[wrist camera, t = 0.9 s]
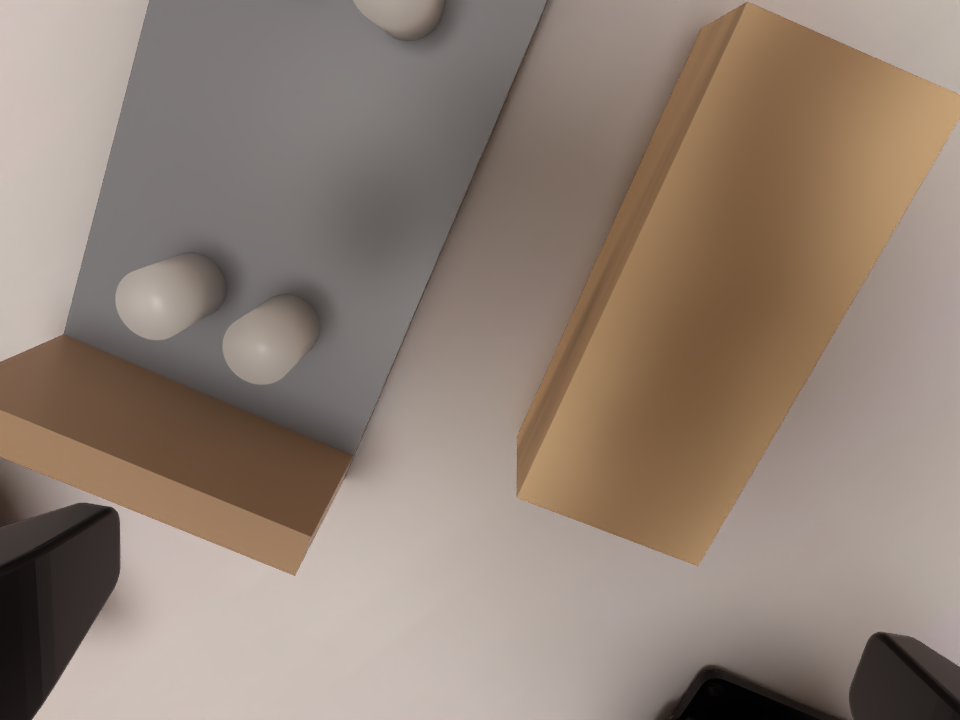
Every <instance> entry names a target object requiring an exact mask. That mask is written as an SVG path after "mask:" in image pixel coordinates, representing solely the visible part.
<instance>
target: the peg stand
mask: <svg viewBox="0 0 960 720" xmlns="http://www.w3.org/2000/svg"><path fill="white" fill-rule="evenodd" d="M547 1H548V0H149V4H148V8H147V12H146V16H145V19H144V23H143V27H142V31H141V35H140V39H139V43H138V47H137V51H136V54H135V58H134V62H133V66H132V70H131V74H130V78H129V82H128V86H127V90H126V93H125V97H124V101H123V105H122V109H121V113H120V117H119V121H118V125H117V128H116V132H115V136H114V140H113V144H112V148H111V152H110V156H109V160H108V163H107V167H106V171H105V175H104V179H103V183H102V187H101V191H100V195H99V199H98V202H97V206H96V210H95V214H94V218H93V222H92V226H91V230H90V234H89V237H88V241H87V245H86V249H85V253H84V257H83V261H82V265H81V269H80V273H79V276H78V280H77V284H76V288H75V292H74V296H73V300H72V304H71V308H70V311H69V315H68V319H67V323H66V327H65V331H64V334H63V335H61V336H59V337H57V338H54V339H52V340H50V341H47V342H45V343H43V344H41V345H38V346H36V347H34V348H31V349H29V350H27V351H25V352H22V353H20V354H18V355H15V356H13V357H11V358H9V359H6V360H4V361H2V362H0V457H2V458H4V459H7V460H9V461H12V462H14V463H17V464H19V465H22V466H24V467H27V468H29V469H31V470H34V471H36V472H39V473H41V474H44V475H46V476H49V477H51V478H54V479H56V480H59V481H61V482H64V483H66V484H69V485H71V486H74V487H76V488H79V489H81V490H84V491H86V492H88V493H91V494H93V495H96V496H98V497H101V498H103V499H106V500H108V501H111V502H113V503H116V504H118V505H121V506H123V507H126V508H128V509H131V510H133V511H136V512H138V513H141V514H143V515H145V516H148V517H150V518H153V519H155V520H158V521H160V522H163V523H165V524H168V525H170V526H173V527H175V528H178V529H180V530H183V531H185V532H188V533H190V534H193V535H195V536H198V537H200V538H203V539H205V540H207V541H210V542H212V543H215V544H217V545H220V546H222V547H225V548H227V549H230V550H232V551H235V552H237V553H240V554H242V555H245V556H247V557H250V558H252V559H255V560H257V561H260V562H262V563H264V564H267V565H269V566H272V567H274V568H277V569H279V570H282V571H284V572H287V573H289V574H292V575H294V576H295V575H296V573H297V571H298V569H299V567H300V565H301V563H302V561H303V559H304V557H305V555H306V553H307V551H308V549H309V547H310V545H311V543H312V541H313V539H314V537H315V535H316V533H317V531H318V530H319V528H320V526H321V524H322V522H323V520H324V518H325V516H326V514H327V512H328V510H329V508H330V506H331V504H332V502H333V500H334V498H335V496H336V494H337V492H338V490H339V488H340V486H341V484H342V482H343V480H344V478H345V476H346V474H347V471H348V469H349V467H350V464H351V462H352V460H353V457H354V455H355V452H356V450H357V448H358V445H359V443H360V441H361V438H362V436H363V434H364V431H365V429H366V427H367V424H368V422H369V420H370V417H371V415H372V413H373V410H374V408H375V406H376V403H377V401H378V398H379V396H380V394H381V391H382V389H383V387H384V384H385V382H386V380H387V377H388V375H389V373H390V370H391V368H392V366H393V363H394V361H395V359H396V356H397V354H398V351H399V349H400V347H401V344H402V342H403V340H404V337H405V335H406V333H407V330H408V328H409V326H410V323H411V321H412V319H413V316H414V314H415V312H416V309H417V307H418V304H419V302H420V300H421V297H422V295H423V293H424V290H425V288H426V286H427V283H428V281H429V279H430V276H431V274H432V272H433V269H434V267H435V265H436V262H437V260H438V257H439V255H440V253H441V250H442V248H443V246H444V243H445V241H446V239H447V236H448V234H449V232H450V229H451V227H452V225H453V222H454V220H455V218H456V215H457V213H458V210H459V208H460V206H461V203H462V201H463V199H464V196H465V194H466V192H467V189H468V187H469V185H470V182H471V180H472V178H473V175H474V173H475V171H476V168H477V166H478V163H479V161H480V159H481V156H482V154H483V152H484V149H485V147H486V145H487V142H488V140H489V138H490V135H491V133H492V131H493V128H494V126H495V124H496V121H497V119H498V117H499V114H500V112H501V109H502V107H503V105H504V102H505V100H506V98H507V95H508V93H509V91H510V88H511V86H512V84H513V81H514V79H515V77H516V74H517V72H518V70H519V67H520V65H521V62H522V60H523V58H524V55H525V53H526V51H527V48H528V46H529V44H530V41H531V39H532V37H533V34H534V32H535V30H536V27H537V25H538V23H539V20H540V18H541V15H542V13H543V11H544V8H545V6H546V4H547Z"/></svg>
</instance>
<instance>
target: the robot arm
mask: <svg viewBox="0 0 960 720" xmlns="http://www.w3.org/2000/svg"><path fill="white" fill-rule="evenodd" d="M119 573H120V520H119V515H118V512H117V511H116V510H115V509H114V508H112V507H107V506H101V505H95V504H89V503H77V504H74V505H71V506H67V507H64V508H61V509H58V510H55V511H51V512H48V513H45V514H42V515H38V516H35V517H32V518H29V519H26V520H22V521H19V522H16V523H13V524H9V525H6V526H3V527H0V720H32V719H33V717H34V716H35V715H36V713H37V712H38V711H39V709H40V708H41V706H42V705H43V704H44V702H45V700H46V699H47V697H48V696H49V694H50V693H51V691H52V690H53V688H54V687H55V685H56V683H57V682H58V680H59V679H60V677H61V675H62V674H63V672H64V670H65V669H66V667H67V665H68V664H69V662H70V660H71V659H72V657H73V655H74V654H75V652H76V651H77V649H78V647H79V646H80V644H81V642H82V641H83V639H84V637H85V636H86V634H87V632H88V631H89V629H90V627H91V626H92V624H93V623H94V621H95V619H96V618H97V616H98V614H99V613H100V611H101V609H102V608H103V606H104V604H105V603H106V601H107V600H108V598H109V596H110V595H111V593H112V591H113V589H114V588H115V585H116V583H117V581H118V577H119ZM714 684H718V686H717V687H713V688H711V687H710V686H711V685H714ZM849 703H850V709H851V713H852V716H853V719H854V720H960V667H959V666H957V665H956V664H954V663H953V662H951V661H950V660H948V659H946V658H945V657H943V656H942V655H940V654H939V653H937V652H936V651H934V650H932V649H931V648H929V647H928V646H926V645H925V644H923V643H921V642H920V641H918V640H917V639H915V638H912V637H909V636H905V635H898V634H892V633H885V632H877V633H875V634H873V635H872V636H871V637H870V638H869V640H868V642H867V644H866V646H865V649H864V651H863V654H862V657H861V659H860V662H859V665H858V667H857V670H856V673H855V675H854V678H853V680H852V683H851V687H850V692H849ZM667 720H839V719H837V718H834V717H832V716H829V715H827V714H824V713H822V712H820V711H817V710H815V709H812V708H810V707H807V706H805V705H803V704H800V703H798V702H795V701H793V700H791V699H788V698H786V697H783V696H781V695H778V694H776V693H774V692H771V691H769V690H766V689H764V688H761V687H759V686H757V685H754V684H752V683H749V682H747V681H745V680H742V679H740V678H737V677H735V676H732V675H730V674H728V673H725V672H723V671H720V670H716V669H710V670H706V671H704V672H702V673H701V674H700V675H699V676H698V678H697V679H696V681H695V682H694V684H693V685H692V687H691V688H690V689H689V691H688V692H687V694H686V695H685V697H684V698H683V700H682V701H681V703H680V704H679V705H678V707H677V708H676V710H675V711H674V713H673V714H672V716H671V717H670V718H668V719H667Z"/></svg>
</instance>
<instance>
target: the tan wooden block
mask: <svg viewBox="0 0 960 720" xmlns="http://www.w3.org/2000/svg"><path fill="white" fill-rule="evenodd" d="M959 118H960V95H959V94H956V93H954V92H952V91H950V90H947V89H945V88H943V87H941V86H938V85H936V84H934V83H931V82H929V81H927V80H925V79H922V78H920V77H918V76H915V75H913V74H911V73H909V72H906V71H904V70H902V69H899V68H897V67H895V66H893V65H890V64H888V63H886V62H884V61H881V60H879V59H877V58H874V57H872V56H870V55H868V54H865V53H863V52H861V51H858V50H856V49H854V48H852V47H849V46H847V45H845V44H842V43H840V42H838V41H836V40H833V39H831V38H829V37H827V36H824V35H822V34H820V33H817V32H815V31H813V30H811V29H808V28H806V27H804V26H801V25H799V24H797V23H795V22H792V21H790V20H788V19H786V18H783V17H781V16H779V15H776V14H774V13H772V12H770V11H767V10H765V9H763V8H760V7H758V6H756V5H754V4H751V3H749V2H746V3H745V4H743V5H741V6H739V7H738V8H736V9H734V10H733V11H731V12H729V13H727V14H726V15H724V16H722V17H720V18H719V19H717V20H715V21H713V22H712V23H710V24H708V25H707V26H705V27H703V28H701V30H700V32H699V34H698V36H697V38H696V41H695V43H694V45H693V47H692V50H691V52H690V54H689V56H688V58H687V61H686V63H685V65H684V67H683V70H682V72H681V74H680V76H679V78H678V81H677V83H676V85H675V87H674V90H673V92H672V94H671V96H670V98H669V101H668V103H667V105H666V107H665V110H664V112H663V114H662V116H661V118H660V121H659V123H658V125H657V127H656V130H655V132H654V134H653V136H652V138H651V141H650V143H649V145H648V147H647V149H646V152H645V154H644V156H643V158H642V161H641V163H640V165H639V167H638V169H637V172H636V174H635V176H634V178H633V181H632V183H631V185H630V187H629V189H628V192H627V194H626V196H625V198H624V201H623V203H622V205H621V207H620V209H619V212H618V214H617V216H616V218H615V221H614V223H613V225H612V227H611V229H610V232H609V234H608V236H607V238H606V240H605V243H604V245H603V247H602V249H601V252H600V254H599V256H598V258H597V260H596V263H595V265H594V267H593V269H592V272H591V274H590V276H589V278H588V280H587V283H586V285H585V287H584V289H583V292H582V294H581V296H580V298H579V300H578V303H577V305H576V307H575V309H574V312H573V314H572V316H571V318H570V320H569V323H568V325H567V327H566V329H565V332H564V334H563V336H562V338H561V340H560V343H559V345H558V347H557V349H556V351H555V354H554V356H553V358H552V360H551V363H550V365H549V367H548V369H547V371H546V374H545V376H544V378H543V380H542V383H541V385H540V387H539V389H538V391H537V394H536V396H535V398H534V400H533V403H532V405H531V407H530V409H529V411H528V414H527V416H526V418H525V420H524V423H523V425H522V427H521V429H520V431H519V434H518V436H517V498H519V499H522V500H524V501H527V502H530V503H532V504H535V505H538V506H540V507H543V508H546V509H548V510H551V511H553V512H556V513H559V514H561V515H564V516H567V517H569V518H572V519H575V520H577V521H580V522H583V523H585V524H588V525H590V526H593V527H596V528H598V529H601V530H604V531H606V532H609V533H612V534H614V535H617V536H620V537H622V538H625V539H628V540H630V541H633V542H635V543H638V544H641V545H643V546H646V547H649V548H651V549H654V550H657V551H659V552H662V553H665V554H667V555H670V556H672V557H675V558H678V559H680V560H683V561H686V562H688V563H691V564H694V565H696V566H698V565H699V563H700V562H701V560H702V558H703V557H704V555H705V553H706V551H707V550H708V548H709V546H710V545H711V543H712V541H713V540H714V538H715V536H716V534H717V533H718V531H719V529H720V528H721V526H722V524H723V522H724V521H725V519H726V517H727V516H728V514H729V512H730V510H731V509H732V507H733V505H734V504H735V502H736V500H737V498H738V497H739V495H740V493H741V492H742V490H743V488H744V486H745V485H746V483H747V481H748V480H749V478H750V476H751V474H752V473H753V471H754V469H755V468H756V466H757V464H758V462H759V461H760V459H761V457H762V456H763V454H764V452H765V450H766V449H767V447H768V445H769V444H770V442H771V440H772V438H773V437H774V435H775V433H776V432H777V430H778V428H779V426H780V425H781V423H782V421H783V420H784V418H785V416H786V414H787V413H788V411H789V409H790V408H791V406H792V404H793V402H794V401H795V399H796V397H797V396H798V394H799V392H800V390H801V389H802V387H803V385H804V384H805V382H806V380H807V379H808V377H809V375H810V373H811V372H812V370H813V368H814V367H815V365H816V363H817V361H818V360H819V358H820V356H821V355H822V353H823V351H824V349H825V348H826V346H827V344H828V343H829V341H830V339H831V337H832V336H833V334H834V332H835V331H836V329H837V327H838V325H839V324H840V322H841V320H842V319H843V317H844V315H845V313H846V312H847V310H848V308H849V307H850V305H851V303H852V301H853V300H854V298H855V296H856V295H857V293H858V291H859V289H860V288H861V286H862V284H863V283H864V281H865V279H866V277H867V276H868V274H869V272H870V271H871V269H872V267H873V265H874V264H875V262H876V260H877V259H878V257H879V255H880V253H881V252H882V250H883V248H884V247H885V245H886V243H887V241H888V240H889V238H890V236H891V235H892V233H893V231H894V229H895V228H896V226H897V224H898V223H899V221H900V219H901V217H902V216H903V214H904V212H905V211H906V209H907V207H908V206H909V204H910V202H911V200H912V199H913V197H914V195H915V194H916V192H917V190H918V188H919V187H920V185H921V183H922V182H923V180H924V178H925V176H926V175H927V173H928V171H929V170H930V168H931V166H932V164H933V163H934V161H935V159H936V158H937V156H938V154H939V152H940V151H941V149H942V147H943V146H944V144H945V142H946V140H947V139H948V137H949V135H950V134H951V132H952V130H953V128H954V127H955V125H956V123H957V122H958V120H959Z"/></svg>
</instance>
